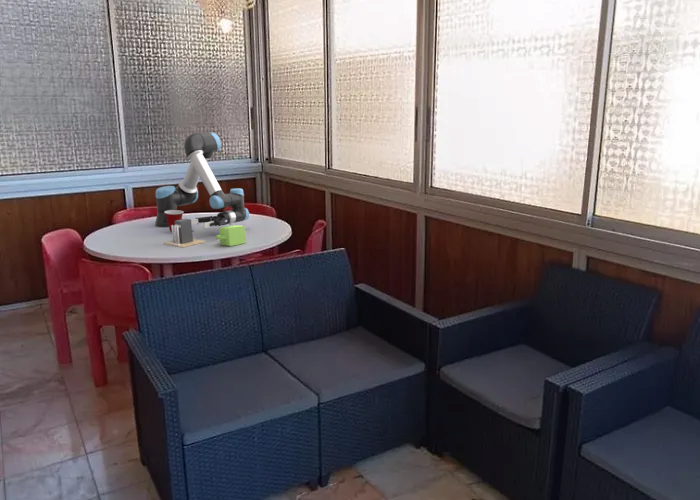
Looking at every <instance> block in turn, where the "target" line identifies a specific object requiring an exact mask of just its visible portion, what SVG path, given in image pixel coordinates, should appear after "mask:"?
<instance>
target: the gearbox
mask: <svg viewBox="0 0 700 500" xmlns="http://www.w3.org/2000/svg"><path fill="white" fill-rule="evenodd" d="M218 230H219V234H217V235H215V239H216V240H219V243H220V245H223V246H229V247H233V246H237V245H243V244H245V243H246V242H247V241H246V227H245V226H244V225H237V224H236V225H234V224H233V225H232V224H231V225H228V226H226V225H225V226H223V227H222V226H221V227H219V228H218Z"/></svg>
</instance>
